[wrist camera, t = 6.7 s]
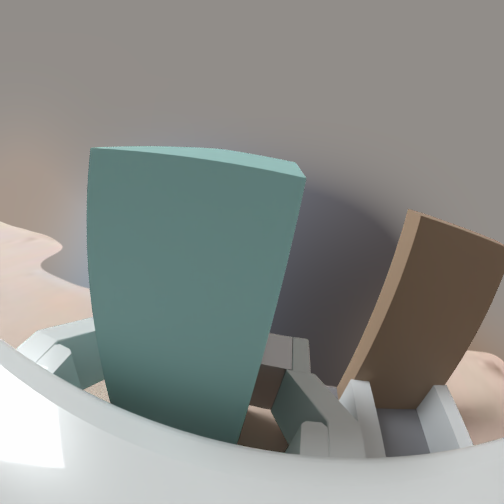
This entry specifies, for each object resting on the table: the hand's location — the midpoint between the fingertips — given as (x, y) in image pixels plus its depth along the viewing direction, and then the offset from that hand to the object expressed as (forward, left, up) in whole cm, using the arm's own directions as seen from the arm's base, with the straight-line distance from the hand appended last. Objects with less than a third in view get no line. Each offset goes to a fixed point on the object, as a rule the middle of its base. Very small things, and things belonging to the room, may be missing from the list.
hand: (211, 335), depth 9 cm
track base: (+11, -3, -8) cm, 14 cm away
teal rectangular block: (0, 0, -8) cm, 8 cm away
